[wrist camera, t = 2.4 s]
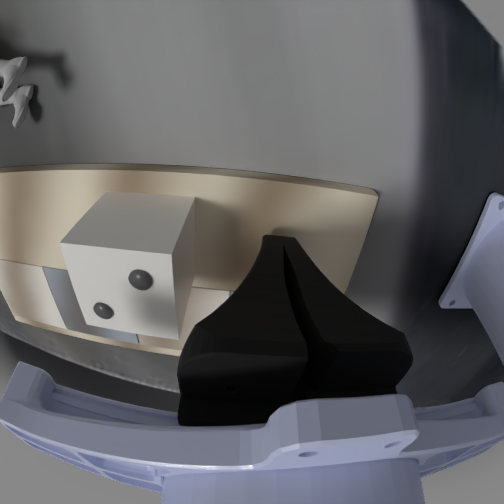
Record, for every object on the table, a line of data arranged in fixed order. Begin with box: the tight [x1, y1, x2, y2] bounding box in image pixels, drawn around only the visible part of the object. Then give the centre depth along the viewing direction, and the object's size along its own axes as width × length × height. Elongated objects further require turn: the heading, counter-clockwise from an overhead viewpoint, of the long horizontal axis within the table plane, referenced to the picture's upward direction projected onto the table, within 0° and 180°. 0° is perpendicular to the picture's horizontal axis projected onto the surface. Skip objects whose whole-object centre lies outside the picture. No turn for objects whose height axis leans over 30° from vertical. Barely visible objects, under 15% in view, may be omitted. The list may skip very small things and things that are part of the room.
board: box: [0, 164, 379, 356], centre depth 15 cm, size 22×12×1 cm, turn 84°
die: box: [60, 192, 195, 340], centre depth 11 cm, size 4×4×4 cm
